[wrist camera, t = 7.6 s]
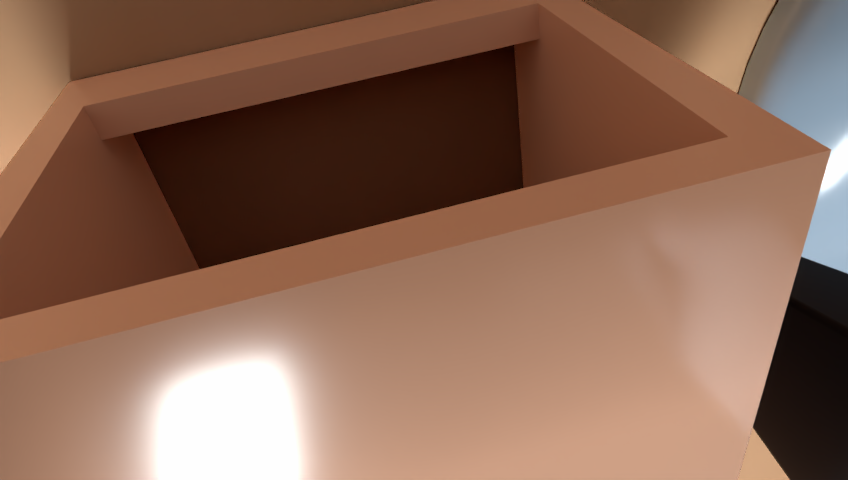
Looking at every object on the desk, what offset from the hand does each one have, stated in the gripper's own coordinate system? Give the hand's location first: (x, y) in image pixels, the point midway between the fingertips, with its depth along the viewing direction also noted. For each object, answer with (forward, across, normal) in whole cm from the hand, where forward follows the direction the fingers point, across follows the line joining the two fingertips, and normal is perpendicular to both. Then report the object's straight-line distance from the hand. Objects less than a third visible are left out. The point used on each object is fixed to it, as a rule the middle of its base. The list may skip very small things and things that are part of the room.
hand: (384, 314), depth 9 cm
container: (+2, 0, 0) cm, 3 cm away
